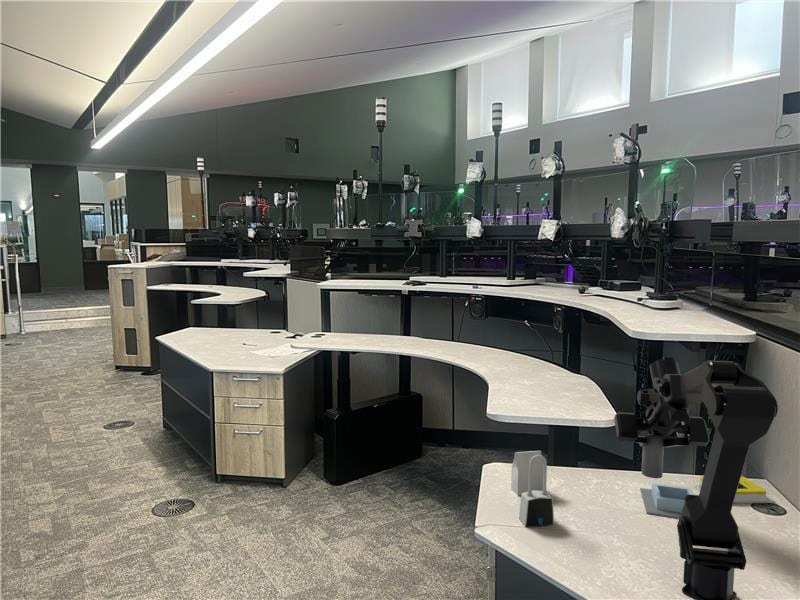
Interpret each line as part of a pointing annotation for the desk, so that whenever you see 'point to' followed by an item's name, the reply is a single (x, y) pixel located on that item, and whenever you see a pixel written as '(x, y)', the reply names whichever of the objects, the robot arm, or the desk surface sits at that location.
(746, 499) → the emergency button
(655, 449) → the plug
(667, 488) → the dock
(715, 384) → the robot arm
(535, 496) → the padlock
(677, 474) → the desk surface
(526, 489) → the grey chamfered block
